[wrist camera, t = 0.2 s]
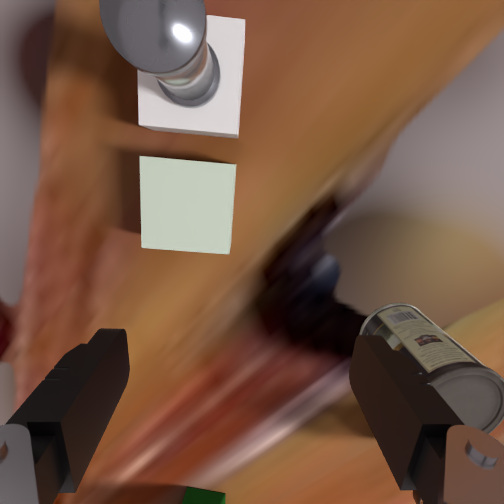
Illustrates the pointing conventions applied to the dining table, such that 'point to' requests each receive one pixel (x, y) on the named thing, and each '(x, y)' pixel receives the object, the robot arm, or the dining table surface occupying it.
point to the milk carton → (202, 497)
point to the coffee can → (442, 364)
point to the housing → (166, 45)
